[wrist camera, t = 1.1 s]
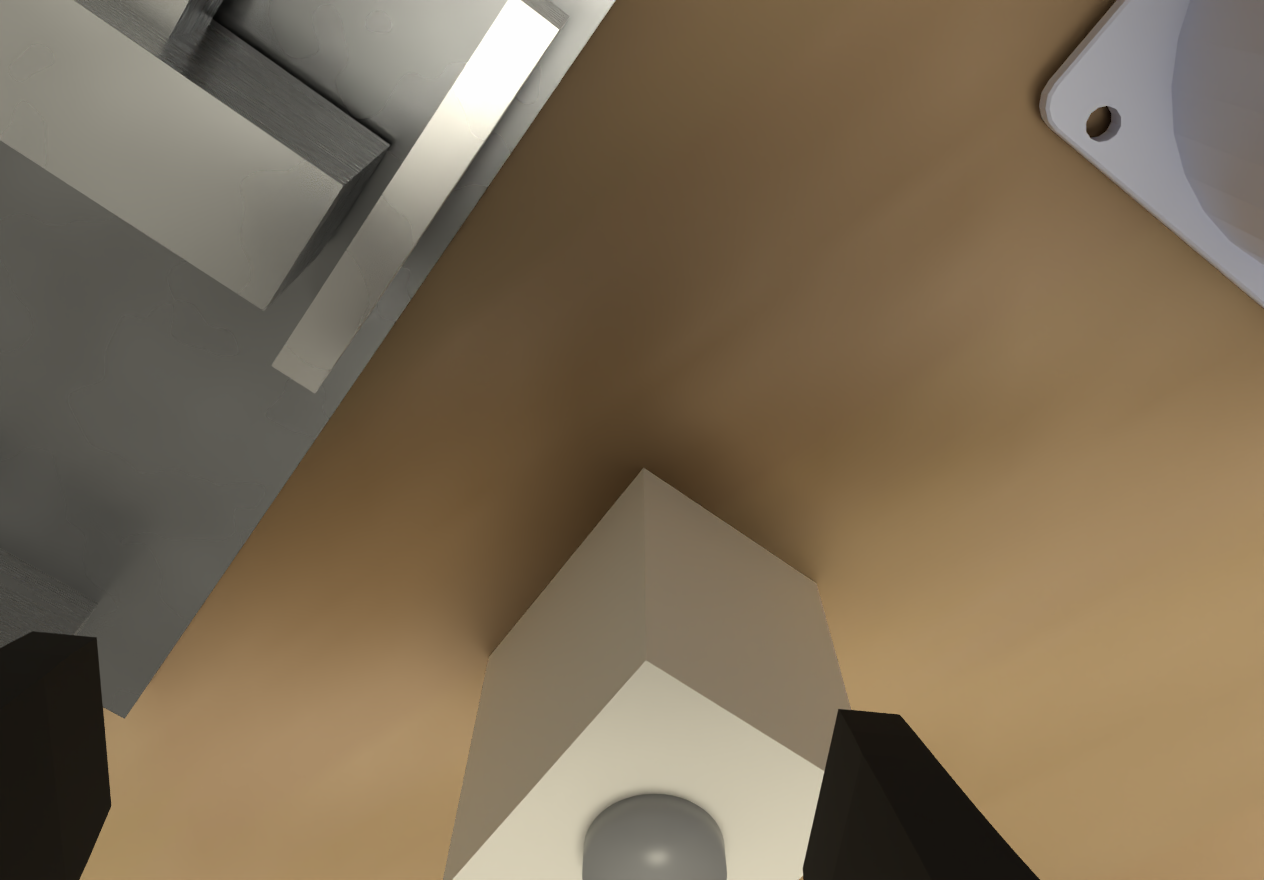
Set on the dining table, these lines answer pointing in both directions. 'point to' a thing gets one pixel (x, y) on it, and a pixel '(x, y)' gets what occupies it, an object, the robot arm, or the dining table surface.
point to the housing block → (653, 711)
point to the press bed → (231, 321)
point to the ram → (182, 133)
